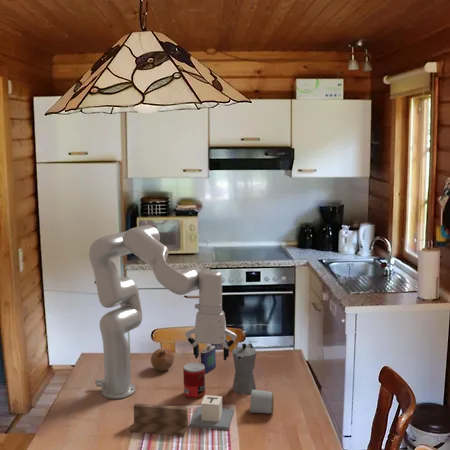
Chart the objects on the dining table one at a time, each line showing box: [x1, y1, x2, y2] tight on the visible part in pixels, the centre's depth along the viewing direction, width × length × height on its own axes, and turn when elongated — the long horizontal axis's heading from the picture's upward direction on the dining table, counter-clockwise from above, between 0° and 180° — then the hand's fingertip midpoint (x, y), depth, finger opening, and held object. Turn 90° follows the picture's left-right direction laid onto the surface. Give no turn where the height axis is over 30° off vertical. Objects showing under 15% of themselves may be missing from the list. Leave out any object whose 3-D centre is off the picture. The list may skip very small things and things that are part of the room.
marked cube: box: [200, 394, 223, 422], centre depth 185 cm, size 6×6×6 cm
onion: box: [150, 347, 175, 372], centre depth 225 cm, size 10×9×10 cm
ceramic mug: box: [249, 389, 275, 414], centre depth 191 cm, size 11×8×8 cm
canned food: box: [182, 362, 206, 400], centre depth 203 cm, size 8×8×11 cm
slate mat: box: [189, 406, 235, 431], centre depth 185 cm, size 13×12×1 cm
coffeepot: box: [232, 342, 257, 395], centre depth 207 cm, size 15×9×18 cm, turn 159°
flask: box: [199, 344, 217, 375], centre depth 224 cm, size 9×3×11 cm, turn 147°
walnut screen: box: [129, 403, 189, 437], centre depth 179 cm, size 18×6×7 cm, turn 80°
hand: (211, 357), depth 182 cm, fingers open, 9 cm apart
